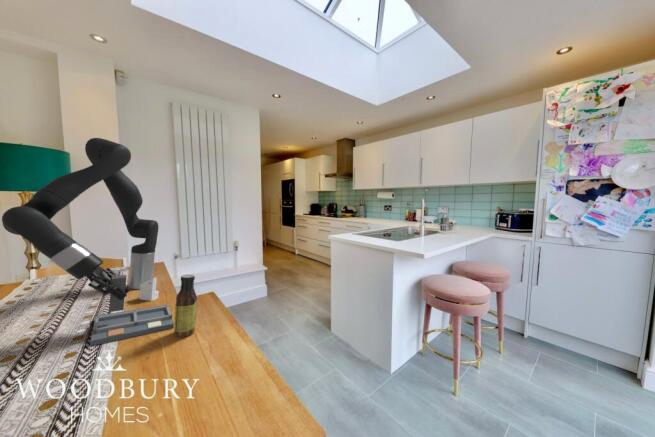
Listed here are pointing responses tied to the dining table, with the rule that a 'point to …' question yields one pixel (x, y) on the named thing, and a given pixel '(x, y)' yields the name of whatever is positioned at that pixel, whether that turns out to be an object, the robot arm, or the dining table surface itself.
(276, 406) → the dining table surface
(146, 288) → the white wedge bracket
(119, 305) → the plug
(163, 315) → the grey tray
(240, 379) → the dining table surface
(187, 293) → the sauce bottle
